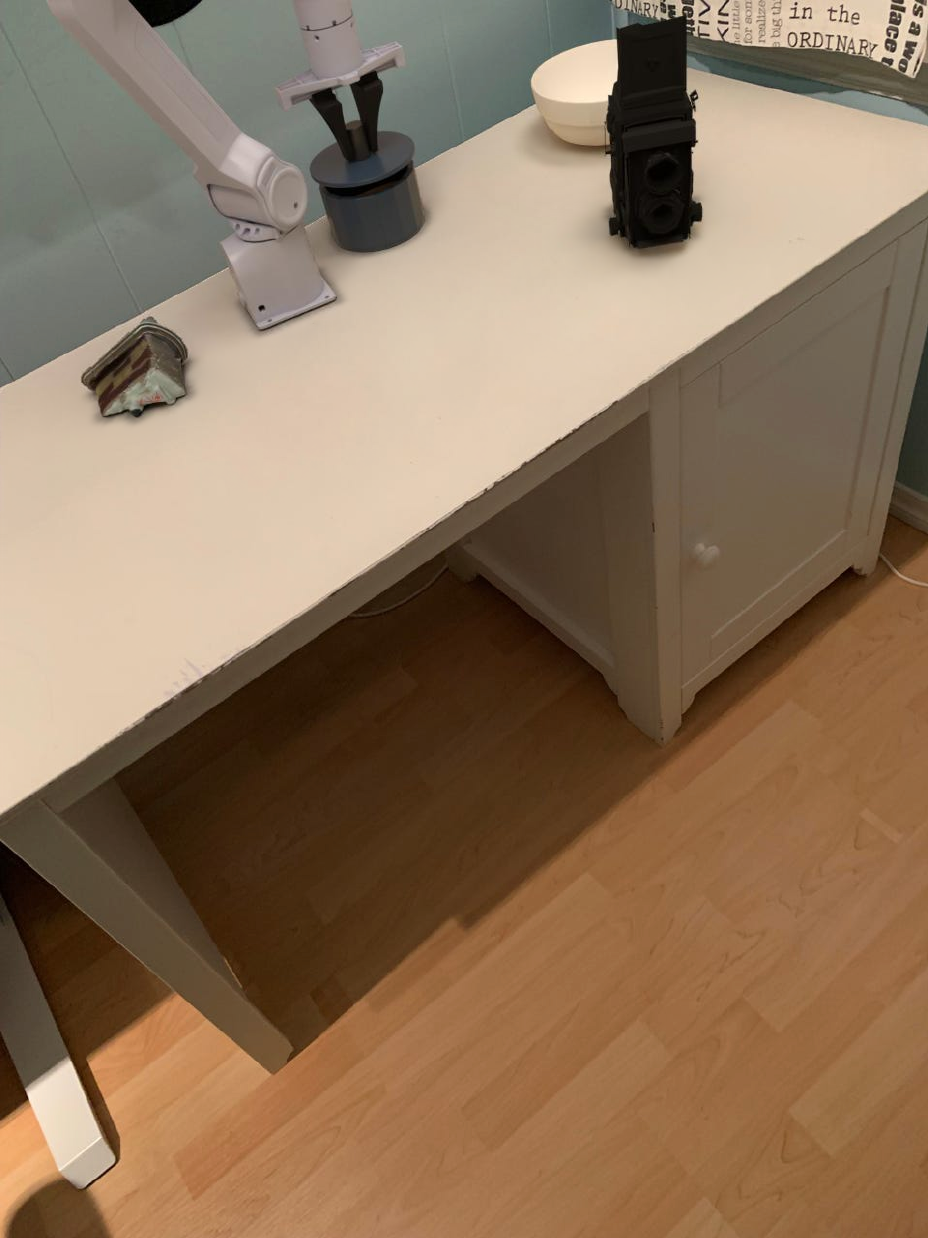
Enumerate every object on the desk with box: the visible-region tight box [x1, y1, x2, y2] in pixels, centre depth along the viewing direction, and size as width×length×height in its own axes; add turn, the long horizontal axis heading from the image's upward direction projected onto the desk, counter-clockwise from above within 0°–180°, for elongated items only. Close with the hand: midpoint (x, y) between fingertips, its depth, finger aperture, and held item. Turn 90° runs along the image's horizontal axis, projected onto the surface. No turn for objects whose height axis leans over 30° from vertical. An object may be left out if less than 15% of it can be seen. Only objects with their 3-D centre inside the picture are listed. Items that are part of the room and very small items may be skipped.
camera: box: [604, 14, 703, 250], centre depth 89 cm, size 10×14×20 cm
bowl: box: [530, 38, 618, 147], centre depth 111 cm, size 18×18×7 cm
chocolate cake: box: [80, 315, 189, 417], centre depth 93 cm, size 10×7×12 cm
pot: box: [318, 158, 426, 253], centre depth 106 cm, size 11×11×6 cm
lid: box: [309, 119, 416, 188], centre depth 101 cm, size 12×12×5 cm
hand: (360, 153), depth 101 cm, fingers closed on lid, 2 cm apart
